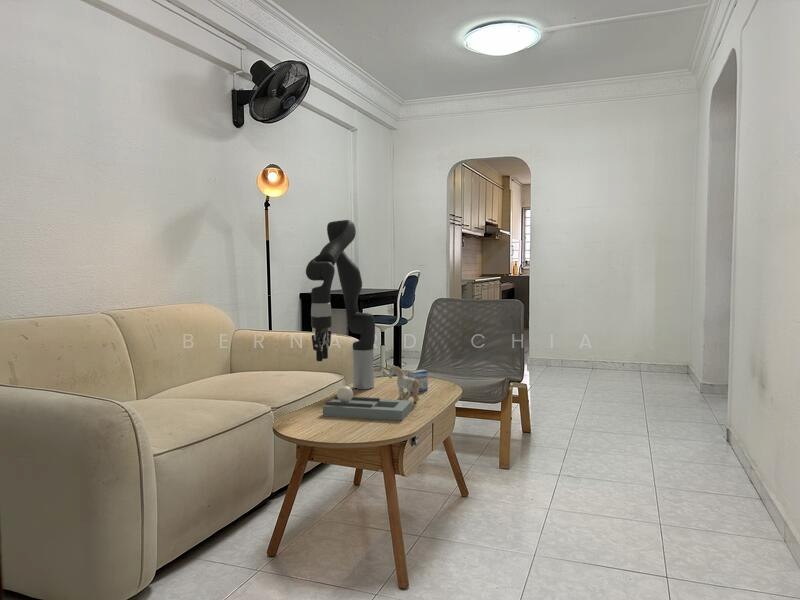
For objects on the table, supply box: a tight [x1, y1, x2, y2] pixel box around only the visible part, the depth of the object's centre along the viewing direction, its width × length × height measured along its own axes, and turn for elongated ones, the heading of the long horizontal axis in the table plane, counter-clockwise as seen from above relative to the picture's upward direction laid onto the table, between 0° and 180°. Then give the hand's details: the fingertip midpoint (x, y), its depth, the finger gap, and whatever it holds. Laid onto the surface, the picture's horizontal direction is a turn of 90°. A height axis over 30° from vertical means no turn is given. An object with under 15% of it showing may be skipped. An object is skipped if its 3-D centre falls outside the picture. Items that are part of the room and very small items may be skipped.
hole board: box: [322, 395, 413, 421], centre depth 217 cm, size 15×30×4 cm, turn 75°
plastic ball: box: [336, 385, 354, 402], centre depth 219 cm, size 6×6×6 cm
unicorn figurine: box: [379, 365, 420, 403], centre depth 235 cm, size 7×20×13 cm, turn 52°
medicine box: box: [407, 369, 429, 393], centre depth 252 cm, size 8×4×9 cm, turn 129°
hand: (322, 359), depth 220 cm, fingers open, 4 cm apart
